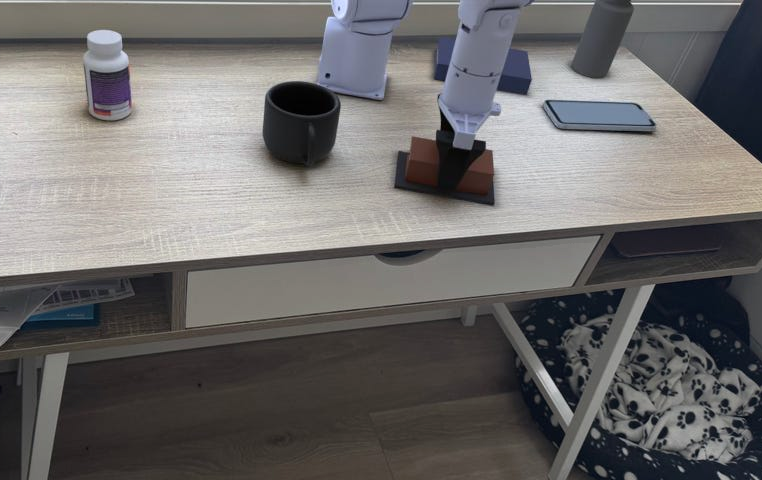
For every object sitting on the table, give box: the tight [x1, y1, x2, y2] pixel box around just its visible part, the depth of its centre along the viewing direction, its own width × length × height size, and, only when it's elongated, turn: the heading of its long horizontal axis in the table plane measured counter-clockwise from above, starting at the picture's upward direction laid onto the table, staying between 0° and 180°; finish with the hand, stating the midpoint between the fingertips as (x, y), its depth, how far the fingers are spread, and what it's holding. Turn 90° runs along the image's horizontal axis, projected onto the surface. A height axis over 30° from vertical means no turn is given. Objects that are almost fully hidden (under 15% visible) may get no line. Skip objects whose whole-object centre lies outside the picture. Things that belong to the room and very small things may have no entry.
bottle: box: [570, 0, 635, 79], centre depth 113 cm, size 6×6×15 cm
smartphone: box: [542, 99, 658, 132], centre depth 106 cm, size 7×1×15 cm
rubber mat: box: [394, 150, 496, 206], centre depth 90 cm, size 12×8×1 cm, turn 81°
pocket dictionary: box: [405, 136, 495, 195], centre depth 89 cm, size 10×6×3 cm, turn 81°
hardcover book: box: [433, 35, 533, 96], centre depth 112 cm, size 14×10×2 cm
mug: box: [262, 80, 342, 167], centre depth 88 cm, size 12×9×7 cm
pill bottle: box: [82, 29, 133, 121], centre depth 90 cm, size 5×5×10 cm
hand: (446, 170), depth 89 cm, fingers open, 7 cm apart
